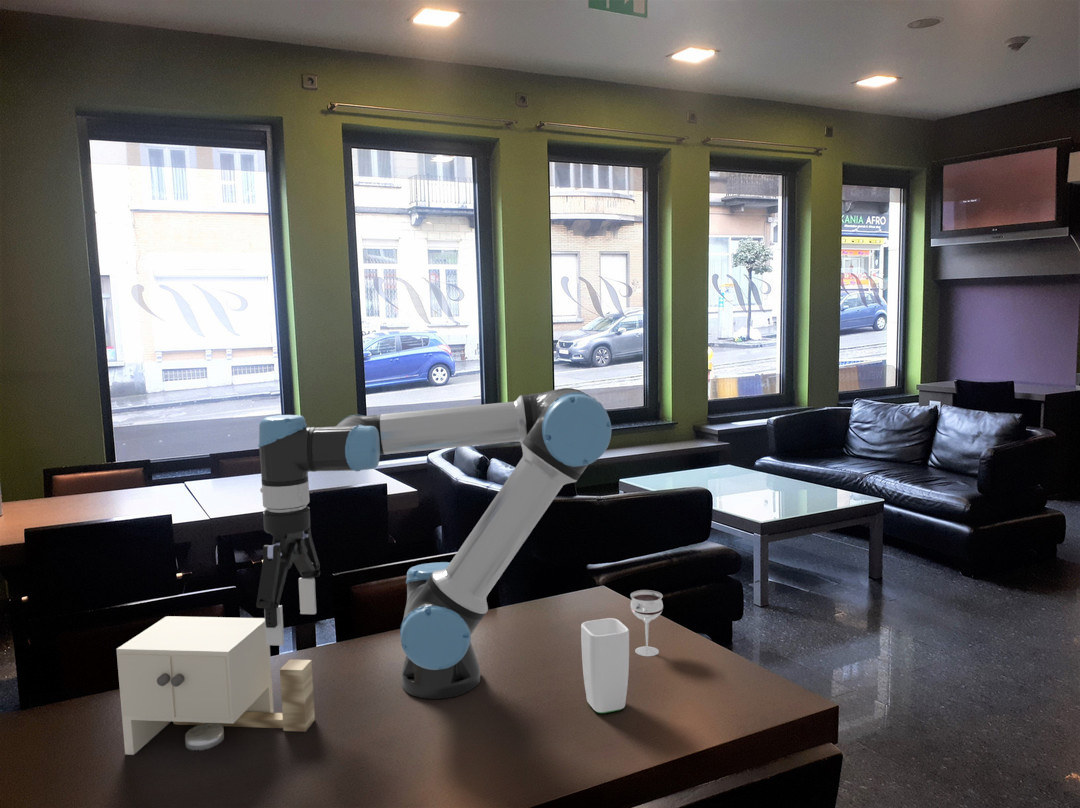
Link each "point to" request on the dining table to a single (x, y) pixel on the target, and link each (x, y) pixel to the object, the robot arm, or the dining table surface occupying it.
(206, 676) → the cabinet
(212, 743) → the disc
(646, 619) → the wineglass
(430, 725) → the dining table surface
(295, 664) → the l-shaped wooden piece
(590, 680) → the cup
